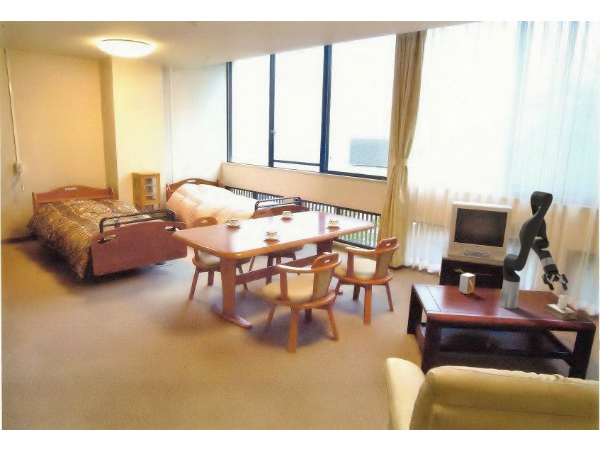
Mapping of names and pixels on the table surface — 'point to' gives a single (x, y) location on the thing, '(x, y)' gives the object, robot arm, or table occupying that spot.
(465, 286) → the small box
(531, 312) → the table surface
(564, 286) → the robot arm
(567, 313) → the dock
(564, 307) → the canister
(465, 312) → the table surface
